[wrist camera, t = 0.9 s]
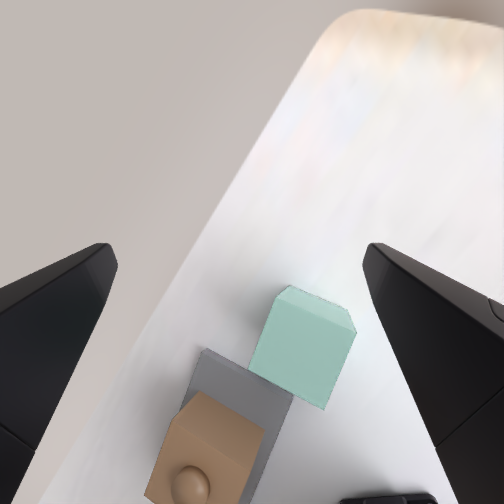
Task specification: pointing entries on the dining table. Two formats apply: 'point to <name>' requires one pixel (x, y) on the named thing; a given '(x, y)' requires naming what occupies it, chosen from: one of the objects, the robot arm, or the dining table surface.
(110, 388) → the dining table surface
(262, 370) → the block
